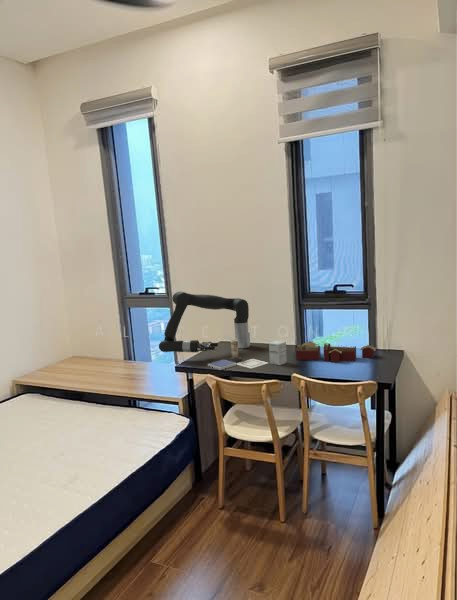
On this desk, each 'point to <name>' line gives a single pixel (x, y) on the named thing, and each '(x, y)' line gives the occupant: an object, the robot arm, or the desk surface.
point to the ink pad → (222, 364)
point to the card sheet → (252, 363)
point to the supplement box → (277, 352)
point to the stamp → (234, 351)
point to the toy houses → (331, 352)
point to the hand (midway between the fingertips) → (216, 346)
